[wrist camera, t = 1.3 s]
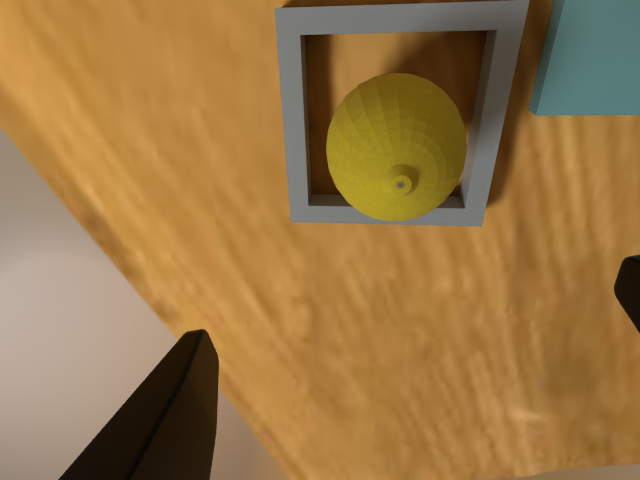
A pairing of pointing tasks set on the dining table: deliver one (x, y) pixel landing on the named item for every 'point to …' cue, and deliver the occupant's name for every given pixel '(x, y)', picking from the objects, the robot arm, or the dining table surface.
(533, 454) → the dining table surface
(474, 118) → the holder
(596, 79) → the tile
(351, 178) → the lemon
